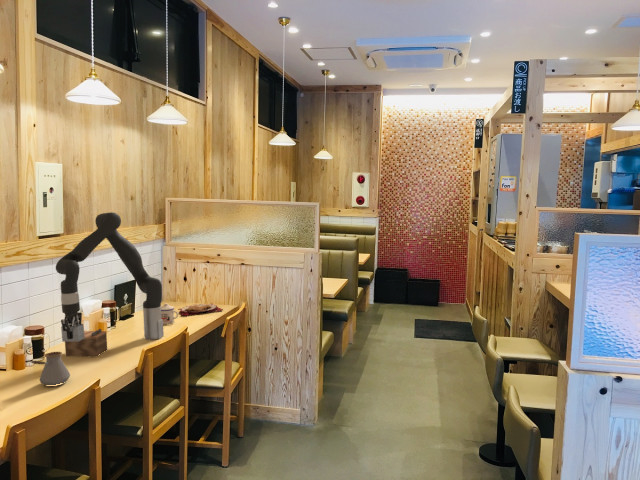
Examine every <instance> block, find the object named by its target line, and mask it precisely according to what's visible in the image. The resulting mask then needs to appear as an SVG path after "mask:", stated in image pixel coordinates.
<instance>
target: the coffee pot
mask: <svg viewBox="0 0 640 480" xmlns="http://www.w3.org/2000/svg"><path fill="white" fill-rule="evenodd" d="M62 354H63V353H62V351H51V352H47V353H45V354H44V357H45V358H46V361H43V360H42V361H41V360H32V361H30V363H31V364H33V365H30V367H34V365H44V366H43V369H42V372H41V374H40V377H39V382H40V383H41V384H42V385H43V384H44V385H43V386H45V385H56V384H60V383H64V382H65V383H66V382H67V381H68V380H69V378H70V377H71V373H70V371H69V369H67V366H66V365H65V363H64V361H63V360H62V358H61V356H62ZM65 383H64V384H65Z"/></svg>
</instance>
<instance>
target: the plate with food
mask: <svg viewBox="0 0 640 480" xmlns="http://www.w3.org/2000/svg"><path fill="white" fill-rule="evenodd" d="M177 309H178V310H177V311H178V314H180V315H181V316H195V315H199V314H200V315H201V314H205V312H207V313H208V314H213V313H218V312H221V311H224V309H223V308H221V307H219V306H218V305H217V304H213V303H208V304H205V303H203V304H202V303H200V304H191V305H186V306H184V307H182V308H177ZM203 312H204V313H203Z"/></svg>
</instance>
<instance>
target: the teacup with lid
mask: <svg viewBox="0 0 640 480" xmlns="http://www.w3.org/2000/svg"><path fill="white" fill-rule="evenodd" d="M175 313H176V316H175ZM178 317H179V311H178V310H175V307H174V306H173V305H170V304H169V303H165V302H164V304H163V305H161V319H163V325H169V324H170V325H171V324H173V323H174V322H175V320H176V319H178Z"/></svg>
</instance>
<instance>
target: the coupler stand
mask: <svg viewBox="0 0 640 480" xmlns="http://www.w3.org/2000/svg"><path fill="white" fill-rule="evenodd" d="M64 348H65V357H88V356H97V357H99V356H100V355H99V354H101V353H102V352H104V351H105V352H107V351H108V337H107V331H105V330H102V328H99V329H97V330H84V339H82V340H81V341H79V342H64ZM106 350H107V351H106ZM105 352H104V353H105ZM102 354H103V353H102ZM102 354H101V355H102ZM98 355H99V356H98Z"/></svg>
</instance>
